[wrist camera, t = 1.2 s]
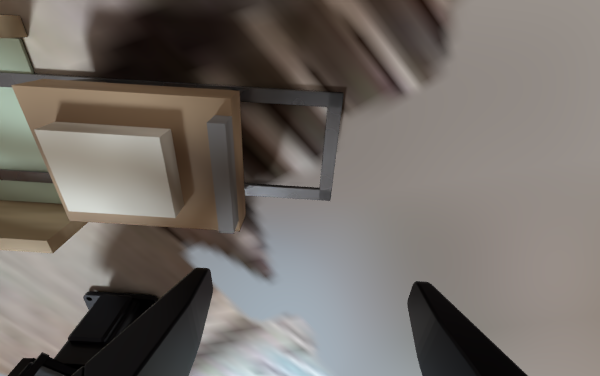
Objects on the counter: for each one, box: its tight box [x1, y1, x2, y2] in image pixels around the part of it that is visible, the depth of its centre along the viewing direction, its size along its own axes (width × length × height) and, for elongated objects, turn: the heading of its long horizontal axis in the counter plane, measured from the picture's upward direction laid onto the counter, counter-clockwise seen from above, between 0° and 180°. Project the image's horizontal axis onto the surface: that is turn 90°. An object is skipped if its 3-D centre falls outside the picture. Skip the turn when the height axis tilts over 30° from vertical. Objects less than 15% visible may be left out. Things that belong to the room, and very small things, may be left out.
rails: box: [0, 72, 344, 201], centre depth 18 cm, size 7×28×1 cm, turn 87°
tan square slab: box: [11, 79, 246, 234], centre depth 16 cm, size 8×10×5 cm
